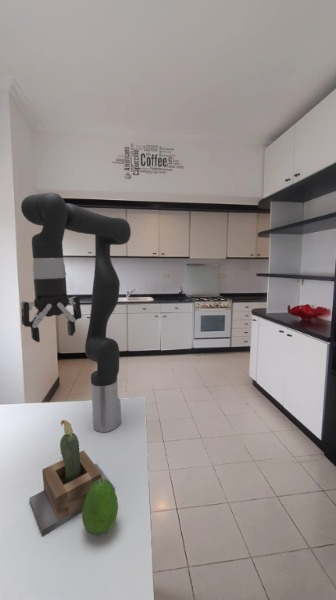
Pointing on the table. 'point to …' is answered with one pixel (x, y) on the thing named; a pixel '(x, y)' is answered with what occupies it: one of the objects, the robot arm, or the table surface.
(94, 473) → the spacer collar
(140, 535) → the table surface
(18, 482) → the table surface
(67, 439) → the vegetable
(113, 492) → the avocado
